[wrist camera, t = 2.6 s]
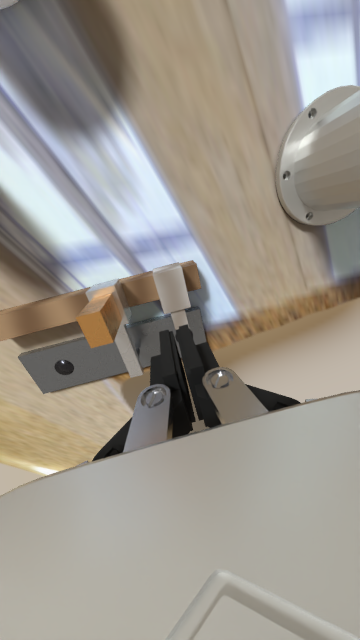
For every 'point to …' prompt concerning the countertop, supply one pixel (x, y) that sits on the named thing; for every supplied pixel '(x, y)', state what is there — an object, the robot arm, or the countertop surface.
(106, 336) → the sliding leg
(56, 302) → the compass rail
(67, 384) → the hole strip
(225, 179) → the countertop surface
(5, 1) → the lidded jar
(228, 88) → the countertop surface
